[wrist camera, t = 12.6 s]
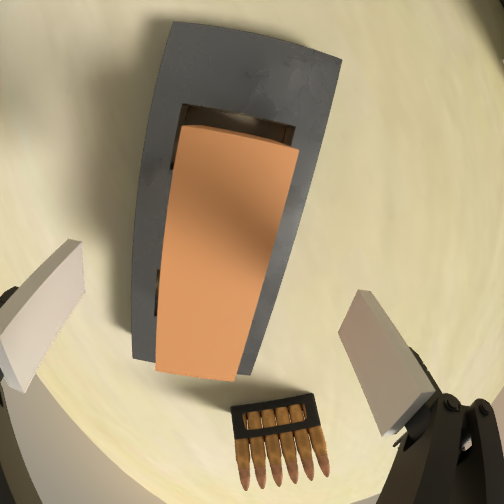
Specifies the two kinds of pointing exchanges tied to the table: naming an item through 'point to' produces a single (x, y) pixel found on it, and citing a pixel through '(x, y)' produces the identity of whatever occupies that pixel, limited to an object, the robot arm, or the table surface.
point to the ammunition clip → (275, 432)
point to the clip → (217, 246)
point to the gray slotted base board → (236, 102)
